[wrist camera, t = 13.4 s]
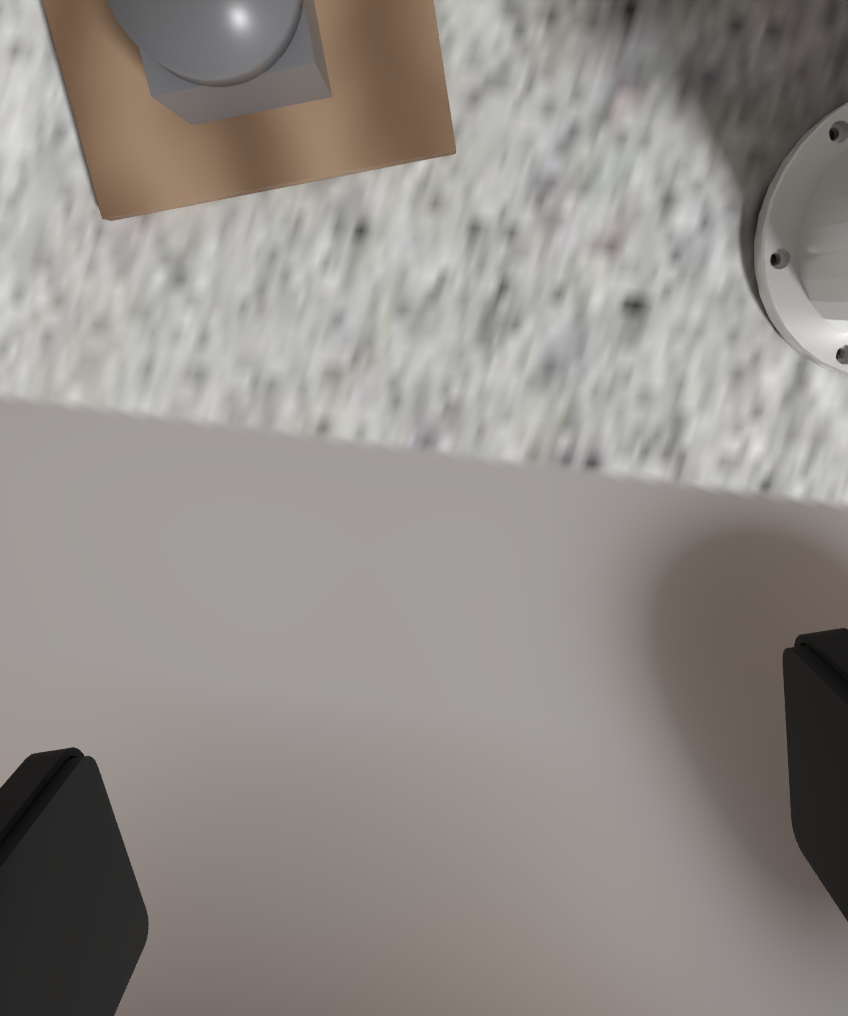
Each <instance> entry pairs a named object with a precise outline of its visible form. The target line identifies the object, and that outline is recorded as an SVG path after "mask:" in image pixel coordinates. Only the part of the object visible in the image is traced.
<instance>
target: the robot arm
mask: <svg viewBox="0 0 848 1016" xmlns="http://www.w3.org/2000/svg"><path fill="white" fill-rule="evenodd" d="M830 130H831V131H832V132H833V133H834V138H833V140H831V139H830V136H829V131H830ZM772 254H774V255H775V256H776V263H775V264H774V265H771V262H770V258H771V255H772ZM754 270H755V275H756V280H757V285H758V290H759V295H760V297H761V300H762V302H763V305H764V307H765V309H766V312H767V314H768V316H769V319H770V320H771V322H772V323H773V324H774V326H775V327H776V329H777V330H778V332H779V333H780V334H781V336H782V337H783V339H784V340H785V341H787V342H788V343H789V344H790V345H791V346H792V347H793V348H794V349H795V350H796V351H797V352H798V353H800V354H801V355H802V356H804V357H805V358H807V359H809V360H811V361H812V362H814V363H816V364H817V365H819V366H821V367H823V368H826V369H829V370H832V371H835V372H838V373H841V374H845V375H848V102H847V103H845V104H843V105H842V106H840V107H839V108H837V109H835V110H834V111H832V112H831V113H829V114H827V115H826V116H825V117H823V118H822V119H821V120H820V121H819V122H818V123H817V124H816V125H815V126H813V127H812V128H811V129H810V130H809V131H808V132H807V133H806V134H805V135H803V136H802V138H801V139H800V140H799V141H798V143H797V144H796V145H795V146H794V148H793V149H792V150H791V151H790V153H789V154H788V155H787V156H786V158H785V159H784V160H783V162H782V164H781V165H780V167H779V169H778V171H777V173H776V174H775V176H774V178H773V180H772V182H771V183H770V185H769V187H768V190H767V193H766V196H765V199H764V201H763V204H762V207H761V210H760V213H759V217H758V223H757V228H756V234H755V240H754ZM839 349H840V355H839V357H838V358H836V353H837V351H838V350H839ZM783 677H784V694H785V712H786V731H787V748H788V767H789V784H790V803H791V820H792V827H793V831H794V835H795V838H796V841H797V843H798V845H799V848H800V850H801V851H802V853H803V854H804V856H805V858H806V859H807V861H808V862H809V864H810V865H811V867H812V868H813V870H814V871H815V873H816V874H817V876H818V877H819V879H820V880H821V882H822V883H823V885H824V886H825V888H826V889H827V891H828V892H829V894H830V895H831V897H832V898H833V900H834V902H835V903H836V905H837V906H838V907H839V909H840V910H841V912H842V914H843V915H844V917H845V918H846V920H847V921H848V629H846V628H842V629H834V630H827V631H821V632H815V633H809V634H803V635H799V636H798V637H797V638H796V641H795V644H794V647H792V648H786V649H785V650H784V653H783ZM147 935H148V915H147V911H146V908H145V905H144V902H143V899H142V896H141V893H140V890H139V887H138V884H137V881H136V878H135V875H134V872H133V869H132V866H131V863H130V860H129V857H128V855H127V851H126V848H125V845H124V842H123V840H122V836H121V833H120V831H119V828H118V825H117V822H116V819H115V816H114V813H113V810H112V807H111V804H110V801H109V798H108V795H107V792H106V789H105V786H104V783H103V780H102V777H101V774H100V772H99V768H98V766H97V764H96V761H95V760H94V759H93V758H92V757H90V756H84V754H83V753H82V752H81V751H80V750H79V749H77V748H74V747H73V748H67V749H60V750H54V751H47V752H41V753H35V754H31V755H30V756H29V757H27V758H26V759H25V760H24V762H23V763H22V764H21V765H20V766H19V767H18V768H17V770H16V771H15V772H14V773H13V774H12V775H11V777H10V778H9V779H8V780H7V781H6V782H5V784H4V785H3V786H2V787H1V788H0V1016H114V1014H115V1012H116V1010H117V1007H118V1005H119V1003H120V1001H121V998H122V996H123V994H124V992H125V989H126V987H127V985H128V982H129V980H130V978H131V975H132V973H133V971H134V969H135V966H136V964H137V962H138V960H139V957H140V955H141V953H142V950H143V948H144V946H145V943H146V940H147Z"/></svg>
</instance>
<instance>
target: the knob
mask: <svg viewBox="0 0 848 1016" xmlns="http://www.w3.org/2000/svg"><path fill="white" fill-rule="evenodd" d="M107 1H108V4H109V6H110V8H111V10H112V12H113V14H114V16H115V18H116V19H117V21H118V23H119V24H120V26H121V27H122V28H123V30H124V31H125V32H126V34H127V35H128V36H129V37H130V38H131V39H132V40H133V42H134V43H135V44H136V45H137V46H138V47H139V49H140V54H141V58H142V62H143V66H144V70H145V74H146V78H147V82H148V86H149V90H150V94H151V97H153V98H154V99H155V100H157V101H158V102H160V103H161V104H163V105H164V106H165V107H167V108H168V109H170V110H171V111H173V112H174V113H175V114H177V115H178V116H180V117H181V118H183V119H184V120H185V121H187V122H188V123H190V124H191V125H195V124H200V123H205V122H210V121H215V120H220V119H225V118H230V117H235V116H240V115H245V114H250V113H255V112H260V111H265V110H270V109H275V108H280V107H285V106H290V105H295V104H300V103H305V102H310V101H315V100H320V99H325V98H330V97H332V93H331V87H330V82H329V77H328V72H327V66H326V61H325V56H324V51H323V45H322V40H321V35H320V29H319V24H318V19H317V14H316V8H315V3H314V0H107Z"/></svg>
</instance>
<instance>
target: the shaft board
mask: <svg viewBox="0 0 848 1016" xmlns="http://www.w3.org/2000/svg"><path fill="white" fill-rule="evenodd" d="M42 1H43V5H44V8H45V12H46V16H47V19H48V23H49V27H50V30H51V34H52V38H53V41H54V45H55V49H56V52H57V56H58V60H59V63H60V67H61V70H62V74H63V78H64V81H65V85H66V89H67V92H68V96H69V100H70V103H71V107H72V111H73V114H74V118H75V121H76V125H77V129H78V132H79V136H80V140H81V143H82V147H83V151H84V154H85V158H86V162H87V165H88V169H89V172H90V176H91V180H92V183H93V187H94V191H95V194H96V198H97V202H98V205H99V209H100V213H101V216H102V219H105V220H110V221H113V220H118V219H123V218H128V217H133V216H138V215H144V214H149V213H154V212H159V211H164V210H169V209H174V208H180V207H185V206H190V205H195V204H200V203H205V202H210V201H215V200H221V199H226V198H231V197H236V196H241V195H246V194H251V193H257V192H262V191H267V190H272V189H277V188H282V187H287V186H292V185H298V184H303V183H308V182H313V181H318V180H323V179H328V178H334V177H339V176H344V175H349V174H354V173H359V172H364V171H370V170H375V169H380V168H385V167H390V166H395V165H400V164H405V163H411V162H416V161H421V160H426V159H431V158H436V157H441V156H447V155H452V154H455V153H456V146H455V140H454V133H453V127H452V120H451V114H450V107H449V101H448V94H447V87H446V81H445V74H444V68H443V61H442V55H441V48H440V42H439V35H438V28H437V22H436V15H435V9H434V2H433V0H314V3H315V8H316V14H317V19H318V24H319V29H320V35H321V40H322V45H323V51H324V56H325V61H326V66H327V72H328V77H329V82H330V87H331V93H332V97H330V98H325V99H320V100H315V101H310V102H305V103H300V104H295V105H290V106H285V107H280V108H275V109H270V110H265V111H260V112H255V113H250V114H245V115H240V116H235V117H230V118H225V119H220V120H215V121H210V122H205V123H200V124H195V125H191V124H190V123H188V122H187V121H185V120H184V119H183V118H181V117H180V116H178V115H177V114H175V113H174V112H173V111H171V110H170V109H168V108H167V107H165V106H164V105H163V104H161V103H160V102H158V101H157V100H155V99H154V98H153V97H151V94H150V90H149V86H148V82H147V78H146V74H145V70H144V66H143V62H142V58H141V54H140V49H139V47H138V46H137V45H136V44H135V43H134V42H133V40H132V39H131V38H130V37H129V36H128V35H127V34H126V32H125V31H124V30H123V28H122V27H121V26H120V24H119V23H118V21H117V19H116V18H115V16H114V14H113V12H112V10H111V8H110V6H109V4H108V1H107V0H42Z"/></svg>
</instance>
